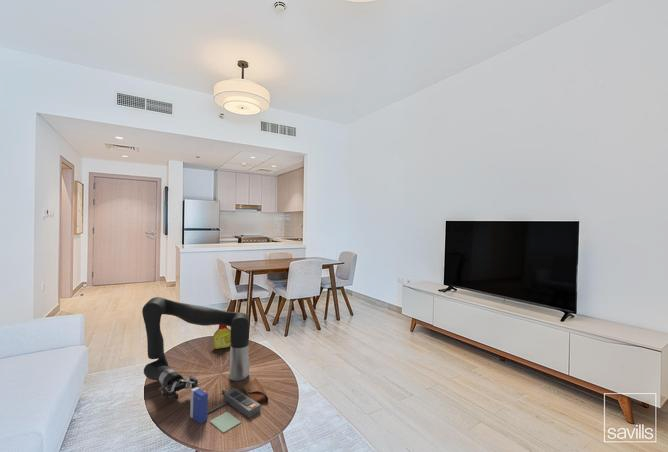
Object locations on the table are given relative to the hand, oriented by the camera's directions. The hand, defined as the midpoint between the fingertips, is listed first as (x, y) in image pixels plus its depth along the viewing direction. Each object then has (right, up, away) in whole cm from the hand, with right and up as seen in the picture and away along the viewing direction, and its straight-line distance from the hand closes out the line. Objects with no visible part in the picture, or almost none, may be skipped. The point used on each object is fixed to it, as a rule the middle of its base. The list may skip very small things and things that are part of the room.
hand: (187, 393), depth 131 cm
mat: (+19, -8, -8) cm, 22 cm away
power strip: (+17, -8, +1) cm, 18 cm away
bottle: (-8, -6, +62) cm, 63 cm away
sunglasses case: (+26, -9, +13) cm, 30 cm away
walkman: (+7, -8, -6) cm, 12 cm away
